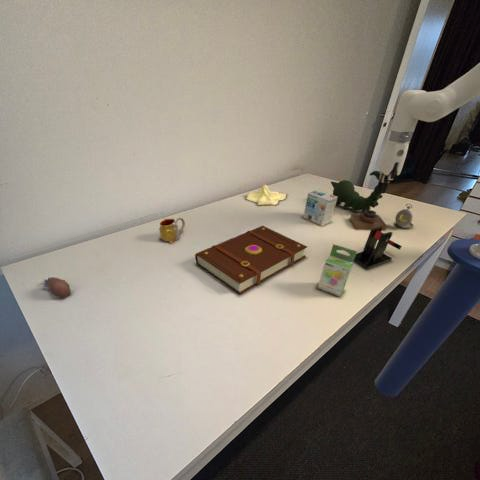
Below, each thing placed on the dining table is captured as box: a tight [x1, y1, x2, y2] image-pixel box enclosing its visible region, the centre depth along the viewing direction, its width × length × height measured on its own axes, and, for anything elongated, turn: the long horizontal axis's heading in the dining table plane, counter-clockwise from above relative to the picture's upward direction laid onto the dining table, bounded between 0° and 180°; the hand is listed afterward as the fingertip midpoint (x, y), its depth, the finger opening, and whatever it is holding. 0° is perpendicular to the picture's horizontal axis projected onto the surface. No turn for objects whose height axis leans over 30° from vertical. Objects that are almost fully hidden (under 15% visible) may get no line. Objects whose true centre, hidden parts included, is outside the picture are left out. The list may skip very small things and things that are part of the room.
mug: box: [158, 217, 186, 244], centre depth 100 cm, size 12×7×7 cm, turn 144°
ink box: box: [317, 244, 358, 297], centre depth 75 cm, size 7×4×13 cm, turn 56°
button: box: [365, 209, 377, 218], centre depth 110 cm, size 4×4×2 cm
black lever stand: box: [353, 227, 394, 271], centre depth 89 cm, size 12×8×11 cm, turn 118°
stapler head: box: [373, 231, 403, 251], centre depth 90 cm, size 13×6×2 cm, turn 119°
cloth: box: [245, 184, 287, 206], centre depth 131 cm, size 22×19×6 cm
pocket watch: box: [394, 203, 415, 230], centre depth 109 cm, size 8×8×10 cm
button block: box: [349, 212, 387, 231], centre depth 112 cm, size 12×10×4 cm
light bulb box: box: [303, 189, 338, 227], centre depth 112 cm, size 11×7×11 cm, turn 40°
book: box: [194, 225, 308, 295], centre depth 89 cm, size 23×32×5 cm
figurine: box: [40, 276, 71, 299], centre depth 76 cm, size 6×5×12 cm
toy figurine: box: [330, 170, 383, 214], centre depth 119 cm, size 9×19×25 cm
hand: (379, 192), depth 104 cm, fingers closed
